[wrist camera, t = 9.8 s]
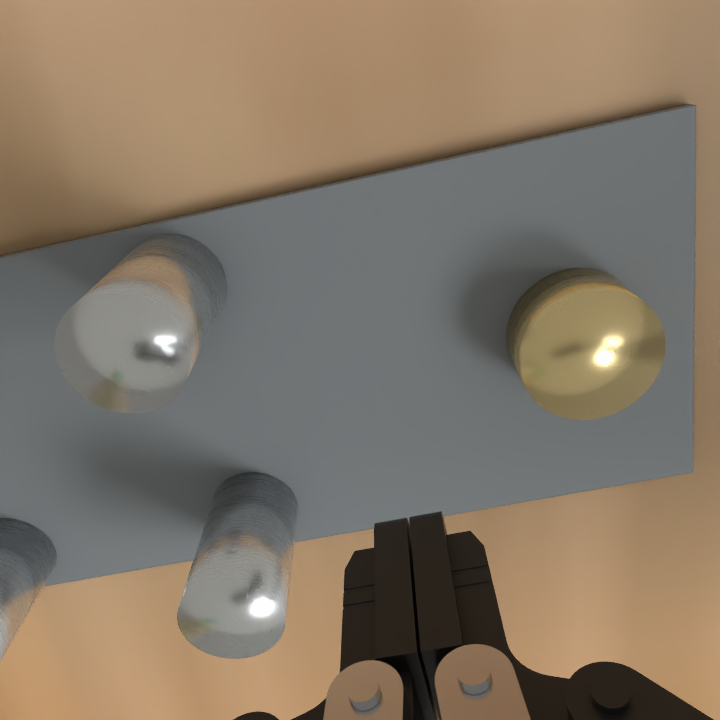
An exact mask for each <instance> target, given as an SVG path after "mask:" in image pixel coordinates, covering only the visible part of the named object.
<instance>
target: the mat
mask: <svg viewBox="0 0 720 720" xmlns="http://www.w3.org/2000/svg"><path fill="white" fill-rule="evenodd" d="M695 160H696V105H692V104H687V105H682V106H678V107H673V108H669V109H664V110H660V111H655V112H651V113H646V114H642V115H637V116H633V117H628V118H624V119H619V120H614V121H610V122H605V123H601V124H596V125H592V126H587V127H583V128H578V129H574V130H569V131H565V132H560V133H556V134H551V135H547V136H542V137H537V138H533V139H528V140H524V141H519V142H515V143H510V144H506V145H501V146H497V147H492V148H488V149H483V150H479V151H474V152H470V153H465V154H460V155H456V156H451V157H447V158H442V159H438V160H433V161H429V162H424V163H420V164H415V165H411V166H406V167H402V168H397V169H393V170H388V171H384V172H379V173H374V174H370V175H365V176H361V177H356V178H352V179H347V180H343V181H338V182H334V183H329V184H325V185H320V186H316V187H311V188H307V189H302V190H297V191H293V192H288V193H284V194H279V195H275V196H270V197H266V198H261V199H257V200H252V201H248V202H243V203H239V204H234V205H230V206H225V207H220V208H216V209H211V210H207V211H202V212H198V213H193V214H189V215H184V216H180V217H175V218H171V219H166V220H162V221H157V222H153V223H148V224H143V225H139V226H134V227H130V228H125V229H121V230H116V231H112V232H107V233H103V234H98V235H94V236H89V237H85V238H80V239H76V240H71V241H66V242H62V243H57V244H53V245H48V246H44V247H39V248H35V249H30V250H26V251H21V252H17V253H12V254H8V255H3V256H0V518H11V519H17V520H21V521H25V522H27V523H30V524H32V525H34V526H35V527H37V528H39V529H40V530H41V531H43V532H44V533H45V534H46V535H47V536H48V537H49V538H50V540H51V541H52V543H53V544H54V547H55V549H56V553H57V561H56V565H55V567H54V569H53V571H52V573H51V574H50V576H49V578H48V580H47V581H46V583H45V585H44V586H49V585H55V584H60V583H66V582H72V581H78V580H83V579H89V578H95V577H100V576H106V575H112V574H117V573H123V572H129V571H134V570H140V569H146V568H151V567H157V566H163V565H169V564H174V563H180V562H186V561H191V560H194V557H195V554H196V550H197V547H198V544H199V541H200V538H201V534H202V531H203V528H204V525H205V521H206V518H207V515H208V512H209V509H210V505H211V502H212V499H213V496H214V493H215V491H216V490H217V488H218V487H219V486H220V484H222V483H223V482H224V481H225V480H227V479H228V478H230V477H232V476H234V475H237V474H241V473H246V472H259V473H265V474H268V475H272V476H274V477H276V478H278V479H280V480H281V481H283V482H284V483H285V484H287V485H288V486H289V487H290V489H291V490H292V491H293V493H294V494H295V496H296V499H297V502H298V517H297V526H296V534H295V542H299V541H305V540H311V539H316V538H322V537H328V536H333V535H339V534H345V533H351V532H356V531H362V530H368V529H373V528H374V524H375V523H379V522H384V521H390V520H396V519H401V518H407V519H408V521H409V517H412V516H417V515H423V514H429V513H434V512H440V511H442V514H443V516H447V515H453V514H459V513H464V512H470V511H476V510H481V509H487V508H493V507H498V506H504V505H510V504H515V503H521V502H527V501H532V500H538V499H544V498H550V497H555V496H561V495H567V494H572V493H578V492H584V491H589V490H595V489H601V488H606V487H612V486H618V485H623V484H629V483H635V482H641V481H646V480H652V479H658V478H663V477H669V476H675V475H680V474H686V473H692V472H693V404H694V282H695ZM160 234H180V235H185V236H188V237H191V238H193V239H195V240H197V241H199V242H201V243H202V244H204V245H205V246H206V247H208V248H209V249H210V250H211V251H212V252H213V253H214V254H215V255H216V257H217V258H218V260H219V261H220V263H221V265H222V267H223V269H224V271H225V274H226V279H227V297H226V300H225V303H224V306H223V308H222V310H221V312H220V314H219V316H218V318H217V320H216V322H215V324H214V326H213V328H212V330H211V332H210V334H209V336H208V338H207V340H206V342H205V344H204V346H203V348H202V350H201V352H200V354H199V356H198V358H197V360H196V362H195V364H194V366H193V368H192V370H191V372H190V374H189V376H188V378H187V380H186V382H185V384H184V386H183V388H182V389H181V390H180V392H179V393H178V394H177V395H176V396H175V397H174V398H173V399H172V400H171V401H170V402H168V403H167V404H165V405H164V406H162V407H160V408H157V409H155V410H152V411H148V412H143V413H120V412H115V411H111V410H108V409H104V408H102V407H100V406H97V405H95V404H94V403H92V402H90V401H88V400H87V399H85V398H84V397H83V396H81V395H80V394H79V393H78V392H77V391H76V390H75V389H74V388H73V387H72V386H71V385H70V384H69V383H68V381H67V380H66V378H65V377H64V375H63V374H62V372H61V370H60V368H59V365H58V363H57V360H56V355H55V348H54V341H55V334H56V329H57V327H58V324H59V322H60V320H61V319H62V317H63V315H64V314H65V313H66V312H67V311H68V310H69V309H70V308H71V307H72V306H73V305H74V304H75V303H76V302H77V301H78V300H79V299H80V298H82V297H83V296H84V295H85V294H86V293H87V292H88V291H89V290H90V289H91V288H92V287H93V286H95V285H96V284H97V283H98V282H99V281H100V280H101V279H102V278H103V277H104V276H105V275H106V274H108V273H109V272H110V271H111V270H112V269H113V268H114V267H115V266H116V265H117V264H118V263H119V262H121V261H122V260H123V259H124V258H125V257H126V256H127V255H128V254H129V253H130V252H131V251H132V250H134V249H135V248H136V247H137V246H138V245H139V244H140V243H141V242H143V241H145V240H146V239H148V238H150V237H153V236H156V235H160ZM570 268H592V269H597V270H601V271H603V272H606V273H608V274H610V275H612V276H614V277H615V278H617V279H618V280H619V281H621V282H622V283H623V284H624V285H625V286H626V287H628V288H629V289H630V290H631V291H632V292H633V293H634V294H636V295H637V296H638V297H639V298H640V299H641V300H642V301H644V302H645V303H646V304H647V305H648V306H649V307H650V308H651V309H652V310H653V311H654V312H655V314H656V315H657V317H658V318H659V320H660V322H661V324H662V326H663V330H664V333H665V340H666V350H665V356H664V361H663V364H662V367H661V369H660V372H659V374H658V376H657V377H656V379H655V381H654V382H653V384H652V385H651V386H650V388H649V389H648V390H647V391H646V392H645V393H644V394H643V395H642V396H641V397H640V398H639V399H638V400H636V401H635V402H634V403H633V404H631V405H629V406H628V407H626V408H625V409H623V410H621V411H619V412H617V413H614V414H611V415H609V416H606V417H602V418H597V419H591V420H574V419H568V418H563V417H560V416H557V415H554V414H552V413H550V412H548V411H547V410H545V409H544V408H542V407H541V406H540V405H539V404H538V403H536V402H535V400H534V399H533V398H532V397H531V396H530V394H529V392H528V391H527V389H526V387H525V385H524V383H523V381H522V379H521V377H520V375H519V373H518V371H517V369H516V367H515V365H514V363H513V361H512V359H511V357H510V355H509V352H508V348H507V343H506V329H507V324H508V320H509V317H510V314H511V312H512V310H513V308H514V306H515V305H516V303H517V301H518V300H519V298H520V297H521V296H522V295H523V294H524V293H525V292H526V291H527V290H528V289H529V288H530V287H531V286H532V285H533V284H535V283H536V282H538V281H539V280H541V279H542V278H544V277H546V276H548V275H550V274H552V273H555V272H558V271H561V270H565V269H570Z"/></svg>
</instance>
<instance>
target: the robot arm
mask: <svg viewBox="0 0 720 720" xmlns="http://www.w3.org/2000/svg"><path fill="white" fill-rule="evenodd" d="M409 523H410V525H409ZM343 607H344V609H343V619H342V641H341V663H340V673H339V674H338V675H337V676H336V678H335V679H334V680H333V682H332V683H331V685H330V687H329V690H328V693H327V697H326V699H325V700H324V701H322V702H321V703H320V704H319V705H318V706H316V707H315V708H313V709H312V710H310V711H308V712H306V713H304V714H302V715H300V716H298V717H296V718H294V719H291V720H713V719H712V718H710V717H708V716H707V715H705V714H704V713H702V712H701V711H699V710H697V709H696V708H694V707H693V706H691V705H689V704H688V703H686V702H685V701H683V700H681V699H680V698H678V697H677V696H675V695H674V694H672V693H670V692H669V691H667V690H666V689H664V688H662V687H661V686H659V685H658V684H656V683H654V682H653V681H651V680H650V679H648V678H647V677H645V676H643V675H642V674H640V673H639V672H637V671H635V670H634V669H632V668H630V667H628V666H625V665H622V664H618V663H614V662H596V663H591V664H588V665H586V666H584V667H582V668H580V669H579V670H577V671H576V672H575V673H574V674H573V675H572V677H571V678H570V679H567V678H560V677H554V676H548V675H543V674H540V673H537V672H534V671H532V670H530V669H528V668H527V667H525V666H524V665H522V664H521V663H520V662H519V661H518V660H517V659H516V658H515V657H514V656H513V654H512V653H511V651H510V649H509V647H508V644H507V641H506V637H505V633H504V629H503V624H502V620H501V616H500V612H499V608H498V603H497V599H496V595H495V591H494V586H493V582H492V578H491V574H490V569H489V565H488V561H487V557H486V552H485V548H484V545H483V544H482V543H481V542H480V541H479V540H478V539H477V538H476V537H475V535H474V534H473V533H472V532H471V531H467V532H461V533H455V534H449V535H447V532H446V527H445V523H444V518H443V514H442V511H440V512H434V513H429V514H423V515H417V516H412V517H409V521H408V519H407V518H401V519H396V520H390V521H384V522H379V523H375V524H374V548H370V549H364V550H358V551H355V552H354V554H353V555H352V557H351V559H350V561H349V563H348V565H347V567H346V568H345V575H344V597H343ZM234 720H279V719H277V718H276V717H275V716H273V715H271V714H269V713H266V712H251V713H247V714H244V715H241V716H239V717H237V718H235V719H234Z"/></svg>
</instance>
